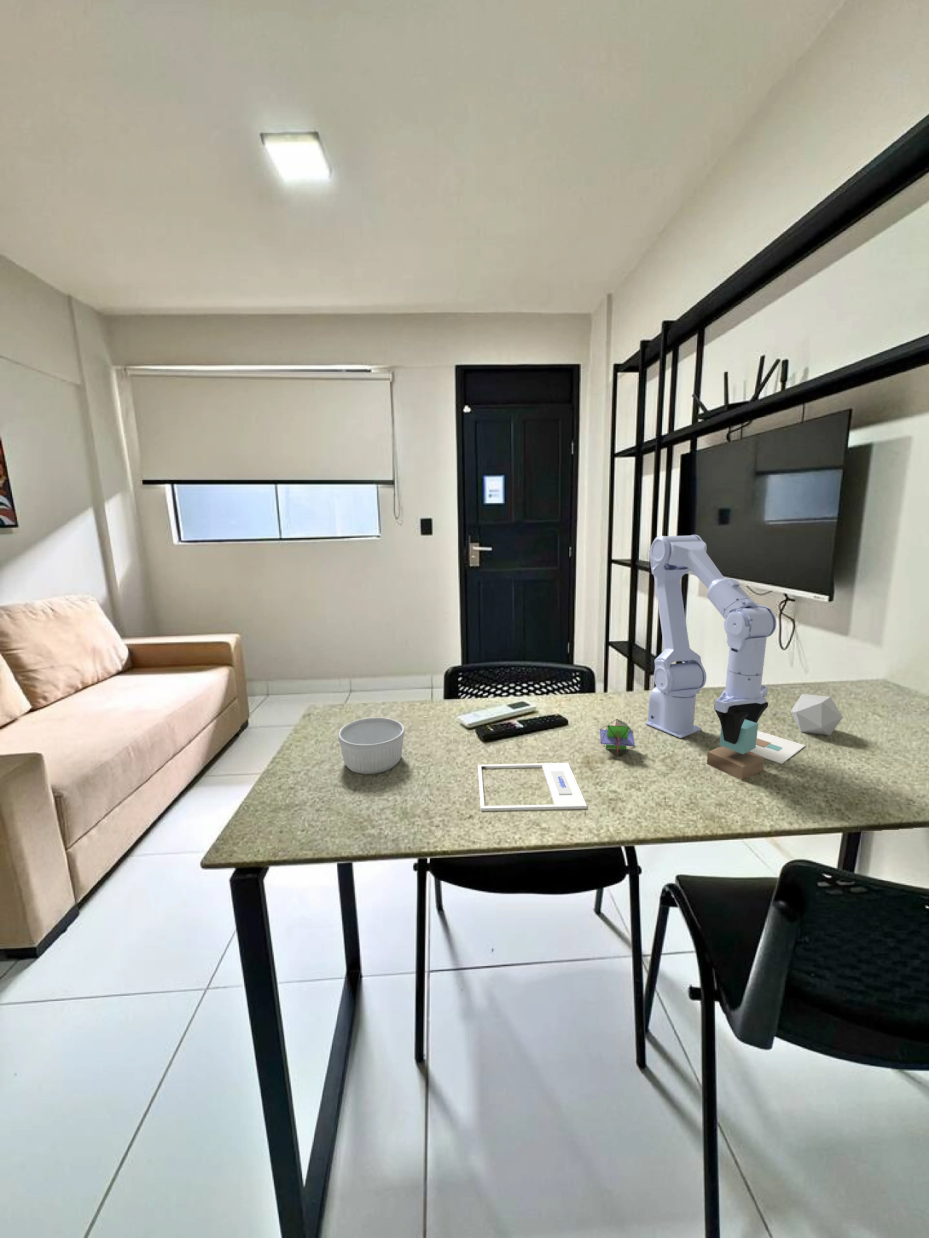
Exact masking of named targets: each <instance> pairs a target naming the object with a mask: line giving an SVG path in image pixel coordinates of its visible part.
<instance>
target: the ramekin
mask: <svg viewBox="0 0 929 1238" xmlns="http://www.w3.org/2000/svg"><path fill="white" fill-rule="evenodd" d="M337 735H338V739H337V740H338V742H339V745H340V751H341V755H342V760H343V762H344V765H345V767H347V768H348V769H349V770H350V771H352V772H353V773H356V774H362V775H372V774H373V775H374V774H375V775H376V774H380V773H384V772H386V771H388V770H391V769H392V768H394V767H395V766H396V765H397V764H398V763H399V762H400V760H401V757H402V754H403V753H402V752H403V744H404V739H405V735H406V734H405V727H404V724H402V722H400V721H399V720H396V719H393V718H389V717H380V716H379V717H377V716H376V717H375V716H373V717H364V718H361V719H357V720H353V721H351V722H349V723H347V724H345V725H343V726H342V727H341V728H340V729H339V730H338V734H337Z"/></svg>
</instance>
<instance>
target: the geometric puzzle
mask: <svg viewBox="0 0 929 1238" xmlns="http://www.w3.org/2000/svg"><path fill="white" fill-rule="evenodd" d="M614 721H615V725H611V724H612V723H613V722H614ZM605 727H606V729H604V728H605ZM599 733H600V734H599V737H600V745H603V746H604V748H605V749H606V750H608V749H611V750H613V749H614V750H616V754H614V753H613V752H612V751H611V750H609V752H610V753H612V754H613V755H614V756H616V758H619V750H623V751H622V752H621V753H620V756H622V755H623V754H624V753H627V752H628V750H627V747H630V750H632V749H633V748H636V745H635V744H636V743H635V737H634V736H635V735H634V730H633V729H631V727H630V726H629V725H628V724H627V722H625V721H622V720H621V719H618V718H616V719H614V720H613V721H611V722H610V723H609V724H607V725H604V726H603V727H602V728H599ZM626 750H627V751H626Z"/></svg>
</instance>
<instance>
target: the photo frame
mask: <svg viewBox="0 0 929 1238" xmlns="http://www.w3.org/2000/svg"><path fill="white" fill-rule="evenodd" d="M482 768H485V769H487V770H488V769H524V768H525V769H526V768H528V769H529V768H531V769H532V768H541V769H542V772H543V775H544V778H545V781H546V784H547V788H548V790H549V793H550V796H551V799H552V802H553V804H552V803H551V804H516V805H515V804H512V805H485V795H484V786H483V785H484V783H483V773H482ZM477 774H478V775H477V778H478V788H479V789H478V791H479V803H480V805H479V806H480V811H481V812H493V811H497V812H499V811H536V810H537V811H538V810H540V811H542V810H581V809H582V810H583V809H585V810H587V809H588V804H587V803H586V801H585V799H584V798H585V797H584V796H583V793H582V792H581V788H580V787H579V785H578V782H577V780H576V778H575V775H574V773H573V771H572V769H571V766H570V764H569V762H542V763H541V762H540V763H539V762H537V763H497V764H495V763H493V764H490V763H489V764H477Z"/></svg>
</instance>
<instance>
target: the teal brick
mask: <svg viewBox="0 0 929 1238" xmlns="http://www.w3.org/2000/svg"><path fill="white" fill-rule="evenodd" d="M758 729H759V723H758V722H757V723H755V722H752V721H749V720H746V719H745V720H744V722H743V724H742V727H741V730H740V735H739V739H738V741H737V743H736V744H732V743H729V742H727V741H724V737H723V732H722V727H720V736H719V745H718V746H719V747H721V746H723V747H725V748H728V749H730V750H733V751H736V752H738V753H741V754H745V753H747V752H749V751H751V750H752V749H754V748H756V739H757V731H759V730H758Z"/></svg>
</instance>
